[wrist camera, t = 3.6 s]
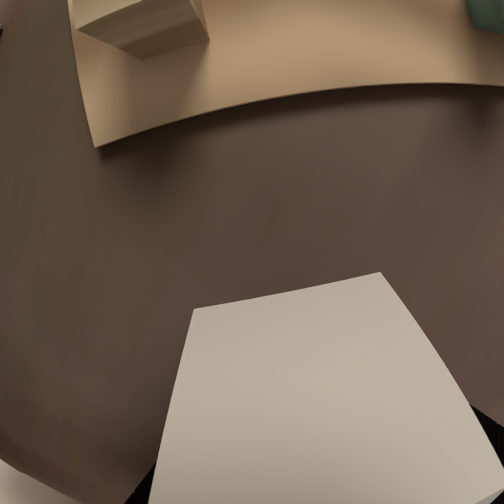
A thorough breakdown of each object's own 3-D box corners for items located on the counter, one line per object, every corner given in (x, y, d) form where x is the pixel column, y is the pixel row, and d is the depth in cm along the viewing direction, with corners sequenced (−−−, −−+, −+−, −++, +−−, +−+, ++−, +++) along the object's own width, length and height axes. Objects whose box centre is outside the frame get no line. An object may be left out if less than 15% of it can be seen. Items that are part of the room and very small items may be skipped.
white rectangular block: (377, 394, 10) (429, 551, 4) (239, 420, 11) (234, 587, 5) (380, 271, 8) (510, 483, 2) (194, 309, 9) (139, 552, 3)
